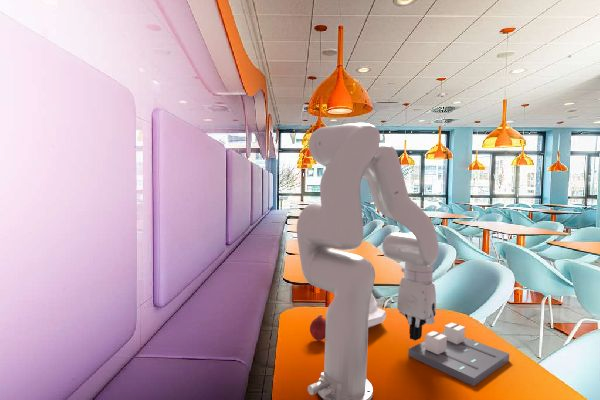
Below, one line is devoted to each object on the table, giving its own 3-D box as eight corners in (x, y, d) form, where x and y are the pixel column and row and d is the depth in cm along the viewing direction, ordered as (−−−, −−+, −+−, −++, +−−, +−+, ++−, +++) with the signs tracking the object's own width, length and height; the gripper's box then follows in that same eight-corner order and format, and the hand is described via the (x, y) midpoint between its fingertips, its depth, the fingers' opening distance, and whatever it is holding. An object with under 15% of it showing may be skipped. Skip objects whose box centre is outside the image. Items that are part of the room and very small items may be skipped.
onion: (327, 346, 104) (328, 319, 103) (308, 344, 105) (308, 317, 104) (330, 337, 109) (331, 312, 109) (311, 335, 111) (312, 310, 110)
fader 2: (457, 344, 102) (458, 330, 102) (443, 339, 105) (444, 325, 105) (464, 340, 105) (465, 326, 104) (451, 335, 108) (451, 322, 108)
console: (473, 386, 86) (474, 377, 86) (408, 355, 100) (408, 348, 100) (508, 360, 98) (509, 353, 98) (446, 336, 112) (446, 330, 112)
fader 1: (438, 354, 96) (438, 339, 96) (424, 348, 99) (425, 334, 99) (446, 350, 98) (446, 335, 98) (432, 344, 102) (433, 330, 101)
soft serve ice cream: (336, 332, 117) (332, 287, 119) (364, 324, 127) (360, 283, 130) (367, 335, 108) (362, 287, 110) (395, 326, 118) (390, 282, 121)
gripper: (388, 271, 106) (385, 332, 107) (435, 284, 94) (431, 352, 95) (403, 267, 110) (401, 326, 112) (450, 279, 99) (446, 344, 100)
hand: (415, 338), depth 104 cm, fingers closed
